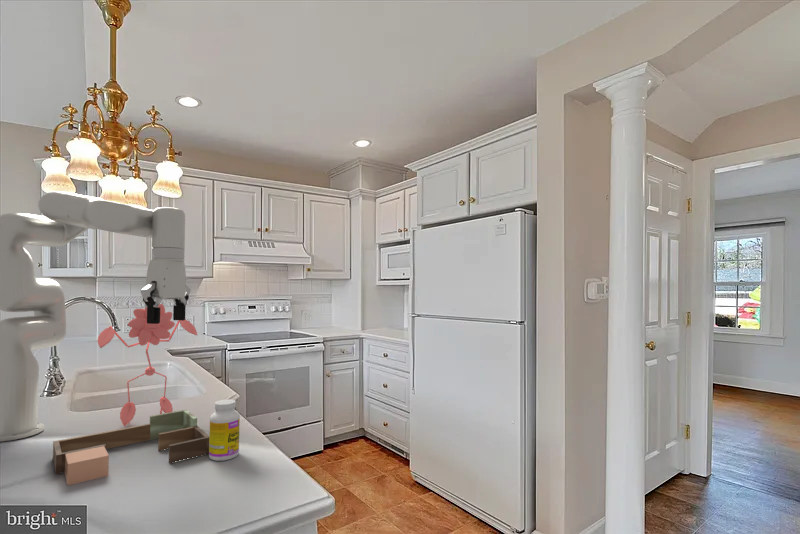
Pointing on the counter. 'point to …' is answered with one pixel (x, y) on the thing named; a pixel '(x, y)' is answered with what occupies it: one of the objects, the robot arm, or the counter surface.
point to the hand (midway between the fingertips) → (166, 321)
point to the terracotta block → (86, 465)
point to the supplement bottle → (224, 431)
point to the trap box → (143, 438)
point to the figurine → (146, 335)
